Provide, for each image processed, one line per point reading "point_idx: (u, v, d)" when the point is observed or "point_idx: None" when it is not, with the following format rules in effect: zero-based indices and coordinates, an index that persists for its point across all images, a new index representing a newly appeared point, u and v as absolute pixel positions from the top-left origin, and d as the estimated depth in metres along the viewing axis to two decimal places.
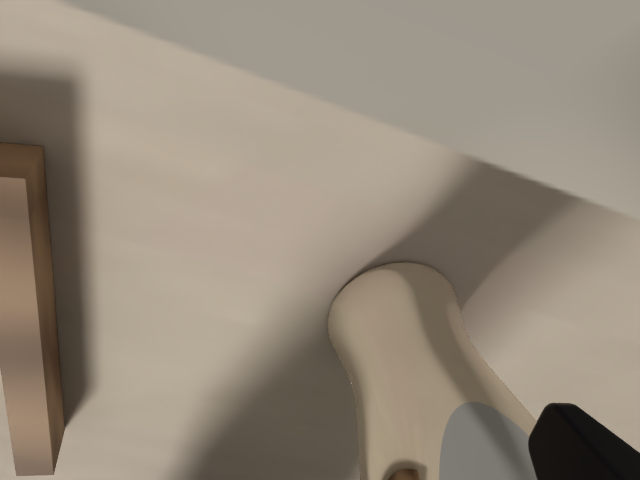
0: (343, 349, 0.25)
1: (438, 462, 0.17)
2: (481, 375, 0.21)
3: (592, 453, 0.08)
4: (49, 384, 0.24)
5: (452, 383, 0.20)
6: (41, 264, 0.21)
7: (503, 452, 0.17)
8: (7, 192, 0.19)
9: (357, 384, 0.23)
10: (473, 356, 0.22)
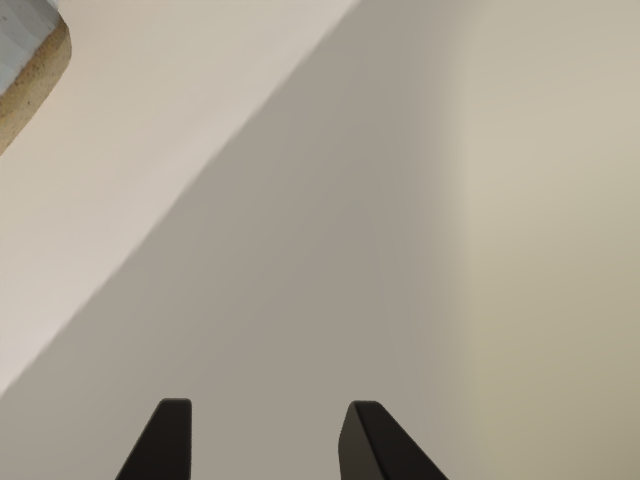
0: None
1: None
2: None
3: (373, 455, 0.08)
4: None
5: None
6: None
7: None
8: None
9: None
10: None
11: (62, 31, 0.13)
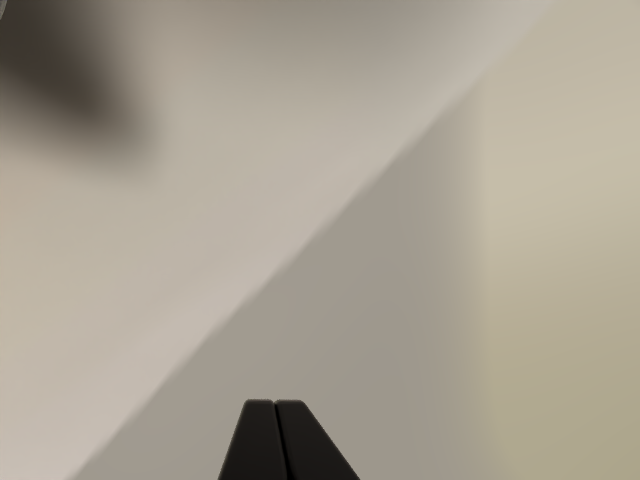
0: None
1: None
2: None
3: (286, 456, 0.07)
4: None
5: None
6: None
7: None
8: None
9: None
10: None
11: None
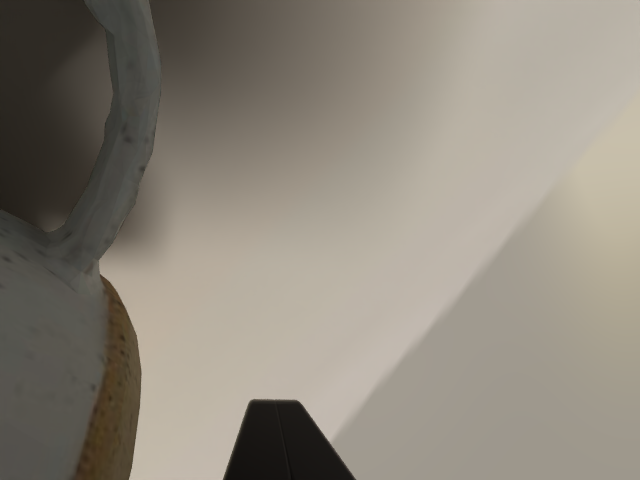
0: None
1: None
2: None
3: (282, 457, 0.07)
4: None
5: None
6: None
7: None
8: None
9: None
10: None
11: (119, 360, 0.06)
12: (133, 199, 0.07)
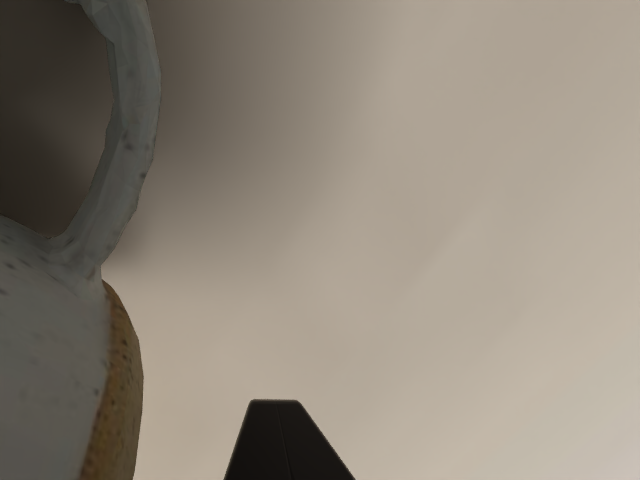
0: None
1: None
2: None
3: (281, 456, 0.07)
4: None
5: None
6: None
7: None
8: None
9: None
10: None
11: (121, 364, 0.06)
12: (135, 206, 0.07)
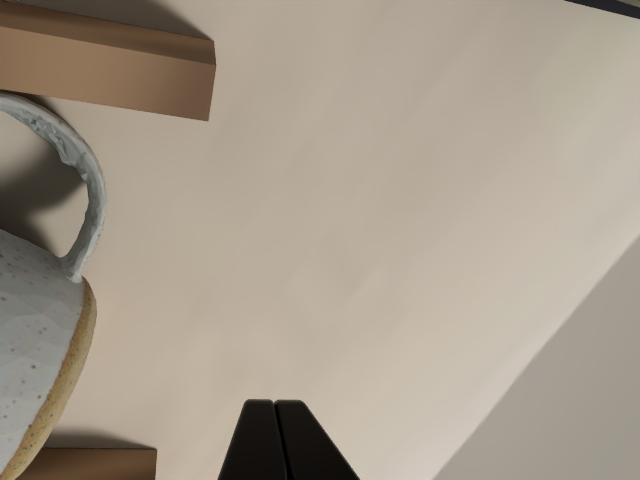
0: None
1: None
2: None
3: (286, 456, 0.07)
4: (9, 20, 0.14)
5: None
6: None
7: None
8: None
9: None
10: None
11: (87, 306, 0.17)
12: (95, 247, 0.18)
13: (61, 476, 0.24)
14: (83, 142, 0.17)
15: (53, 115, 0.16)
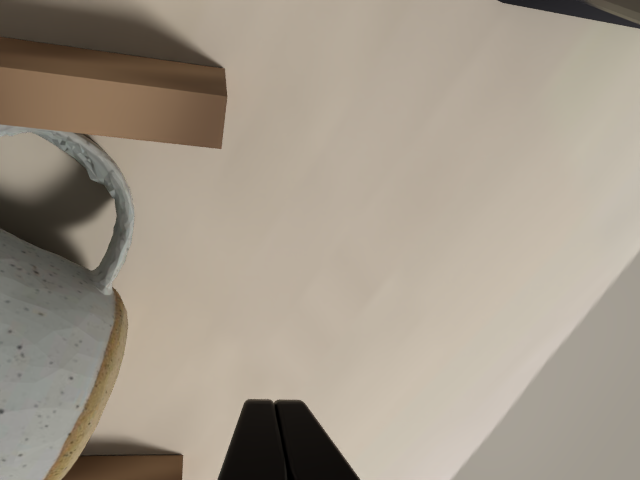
0: None
1: None
2: None
3: (286, 456, 0.07)
4: (31, 62, 0.15)
5: None
6: None
7: None
8: None
9: None
10: None
11: (119, 318, 0.18)
12: (124, 260, 0.18)
13: None
14: (110, 160, 0.17)
15: (81, 136, 0.17)
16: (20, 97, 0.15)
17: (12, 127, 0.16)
